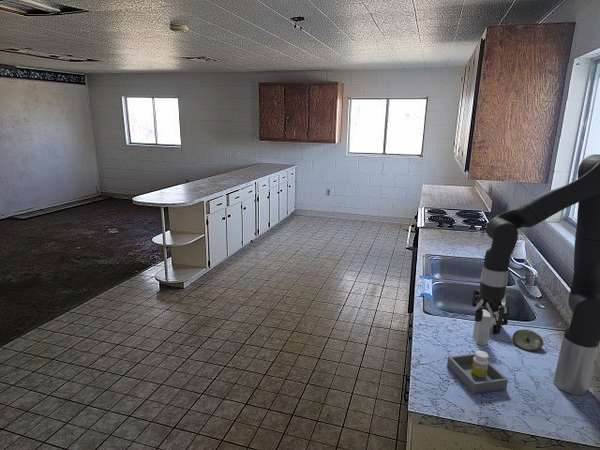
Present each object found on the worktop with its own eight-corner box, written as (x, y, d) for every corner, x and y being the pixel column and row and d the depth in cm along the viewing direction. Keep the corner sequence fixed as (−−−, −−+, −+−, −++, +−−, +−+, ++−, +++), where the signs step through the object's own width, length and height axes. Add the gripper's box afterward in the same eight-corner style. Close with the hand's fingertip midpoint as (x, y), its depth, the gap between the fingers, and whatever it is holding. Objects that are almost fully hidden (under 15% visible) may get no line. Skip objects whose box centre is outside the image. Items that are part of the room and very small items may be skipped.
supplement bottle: (473, 369, 138) (476, 348, 136) (487, 375, 135) (491, 353, 133) (468, 376, 135) (472, 354, 132) (483, 382, 132) (487, 359, 129)
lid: (544, 344, 156) (547, 333, 155) (538, 355, 149) (541, 343, 147) (515, 334, 163) (517, 323, 161) (508, 344, 156) (510, 333, 154)
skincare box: (487, 345, 155) (492, 317, 151) (476, 344, 155) (480, 316, 152) (483, 336, 160) (487, 309, 157) (472, 335, 161) (476, 308, 158)
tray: (476, 362, 143) (478, 353, 142) (506, 390, 129) (508, 379, 128) (446, 366, 141) (448, 356, 140) (473, 394, 127) (474, 384, 126)
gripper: (520, 289, 120) (512, 337, 124) (489, 271, 133) (482, 315, 138) (498, 291, 118) (490, 340, 123) (469, 273, 132) (463, 317, 136)
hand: (486, 327), depth 130 cm, fingers open, 8 cm apart
